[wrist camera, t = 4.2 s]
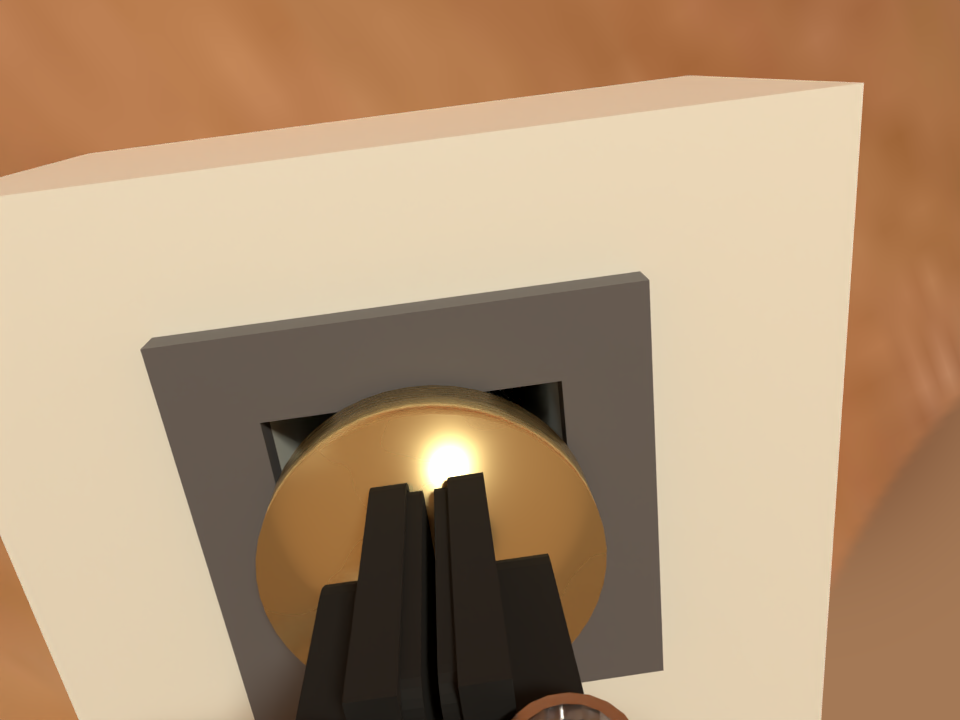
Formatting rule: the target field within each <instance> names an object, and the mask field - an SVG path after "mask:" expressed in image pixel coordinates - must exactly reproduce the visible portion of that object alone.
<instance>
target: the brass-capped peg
mask: <svg viewBox="0 0 960 720" xmlns="http://www.w3.org/2000/svg"><path fill="white" fill-rule="evenodd" d="M480 472H483V475H484V482H485V489H486V496H487V503H488V510H489V517H490V524H491V531H492V538H493V545H494V552H495V559H496V561H498V560H505V559H512V558H519V557H526V556H533V555H540V554H547V553H548V555H549V557H550V560H551V564H552V568H553V572H554V576H555V580H556V584H557V588H558V592H559V596H560V600H561V604H562V608H563V612H564V616H565V620H566V624H567V628H568V632H569V636H570V640H571V643H573V641H574V640H575V639H576V638H577V637H578V636H579V634H580V633H581V631H582V630H583V628H584V627H585V625H586V624H587V622H588V621H589V619H590V617H591V615H592V613H593V611H594V609H595V607H596V605H597V603H598V600H599V597H600V594H601V590H602V587H603V584H604V578H605V572H606V560H607V546H606V540H605V533H604V527H603V524H602V521H601V518H600V515H599V511H598V509H597V506H596V504H595V501H594V499H593V496H592V494H591V491H590V488H589V486H588V483H587V481H586V478H585V476H584V474H583V472H582V470H581V468H580V466H579V464H578V462H577V460H576V458H575V456H574V455H573V454H572V452H571V451H570V449H569V448H568V446H567V445H566V443H565V442H564V441H563V440H562V439H561V438H560V437H559V436H558V435H557V434H556V433H555V432H554V430H553V429H552V428H550V427H549V426H548V425H547V424H545V423H544V422H543V421H542V420H540V419H539V418H538V417H537V416H535V415H534V414H532V413H531V412H529V411H527V410H526V409H524V408H522V407H521V406H519V405H517V404H515V403H513V399H512V395H511V392H510V388H507V389H500V390H493V391H486V392H482V391H479V390H475V389H469V388H463V387H457V386H440V385H427V386H414V387H406V388H401V389H396V390H391V391H386V392H383V393H380V394H377V395H374V396H371V397H368V398H365V399H362V400H360V401H358V402H356V403H354V404H352V405H350V406H348V407H346V408H344V409H342V410H341V411H339V412H337V413H336V414H334V415H333V416H331V417H330V418H328V419H327V420H325V421H324V422H323V423H322V424H321V425H319V426H318V427H317V428H316V429H315V430H313V431H312V432H311V433H310V434H309V435H308V436H307V437H306V438H305V439H304V441H303V442H302V443H301V444H300V445H299V446H298V447H297V448H296V450H295V451H294V453H293V454H292V456H291V457H290V459H289V460H288V462H287V463H286V465H285V466H284V468H283V470H282V473H281V475H280V477H279V479H278V481H277V483H276V486H275V489H274V492H273V495H272V498H271V500H270V503H269V506H268V509H267V512H266V515H265V518H264V521H263V524H262V528H261V531H260V535H259V538H258V544H257V552H256V580H257V585H258V590H259V595H260V599H261V602H262V604H263V607H264V610H265V612H266V615H267V617H268V619H269V621H270V623H271V624H272V626H273V628H274V630H275V632H276V633H277V634H278V636H279V637H280V638H281V640H282V641H283V642H284V644H285V645H286V646H287V648H288V649H289V650H290V651H291V652H292V653H293V654H294V655H295V656H296V657H297V658H298V659H299V660H300V661H301V662H302V663H304V664H305V665H306V663H307V658H308V653H309V648H310V643H311V638H312V632H313V627H314V622H315V617H316V612H317V607H318V602H319V597H320V593H321V590H322V588H323V586H324V585H328V584H336V583H343V582H350V581H357V580H358V574H359V566H360V559H361V551H362V543H363V535H364V527H365V520H366V512H367V504H368V496H369V490H370V488H373V487H380V486H387V485H394V484H401V483H407V484H408V486H409V490H410V492H415V491H422V490H423V493H424V498H425V503H426V509H427V515H428V521H429V527H430V532H431V538H432V544H433V550H434V556H435V526H434V489H436V488H444V487H447V477H452V476H459V475H466V474H473V473H480Z"/></svg>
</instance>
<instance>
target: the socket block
mask: <svg viewBox="0 0 960 720" xmlns="http://www.w3.org/2000/svg"><path fill="white" fill-rule="evenodd" d="M863 88H864V83H855V82H831V81H807V80H783V79H760V78H736V77H712V76H681V77H673V78H666V79H658V80H650V81H643V82H635V83H627V84H620V85H612V86H604V87H597V88H589V89H581V90H574V91H566V92H558V93H550V94H543V95H535V96H527V97H520V98H512V99H504V100H497V101H489V102H481V103H474V104H466V105H458V106H451V107H443V108H435V109H427V110H420V111H412V112H404V113H397V114H389V115H381V116H374V117H366V118H358V119H351V120H343V121H335V122H328V123H320V124H312V125H305V126H297V127H289V128H281V129H274V130H266V131H258V132H251V133H243V134H235V135H228V136H220V137H212V138H205V139H197V140H189V141H182V142H174V143H166V144H159V145H151V146H143V147H135V148H128V149H120V150H112V151H105V152H97V153H89V154H85V155H81V156H78V157H74V158H70V159H67V160H63V161H59V162H55V163H52V164H48V165H44V166H40V167H37V168H33V169H29V170H26V171H22V172H18V173H14V174H11V175H7V176H3V177H0V536H1V538H2V540H3V543H4V545H5V547H6V550H7V552H8V554H9V557H10V559H11V561H12V564H13V566H14V568H15V571H16V573H17V576H18V578H19V580H20V583H21V585H22V587H23V590H24V592H25V594H26V597H27V599H28V601H29V604H30V606H31V608H32V611H33V613H34V615H35V618H36V620H37V622H38V625H39V627H40V630H41V632H42V634H43V637H44V639H45V641H46V644H47V646H48V648H49V651H50V653H51V655H52V658H53V660H54V662H55V665H56V667H57V669H58V672H59V674H60V676H61V679H62V681H63V683H64V686H65V688H66V691H67V693H68V695H69V698H70V700H71V702H72V705H73V707H74V709H75V712H76V714H77V716H78V719H79V720H295V719H296V714H297V709H298V704H299V699H300V694H301V689H302V684H303V679H304V673H305V668H306V665H305V664H304V663H302V662H301V661H300V660H299V659H298V658H297V657H296V656H295V655H294V654H293V653H292V652H291V651H290V650H289V649H288V648H287V646H286V645H285V644H284V642H283V641H282V640H281V638H280V637H279V636H278V634H277V633H276V632H275V630H274V628H273V626H272V624H271V623H270V621H269V619H268V617H267V615H266V612H265V610H264V607H263V604H262V602H261V599H260V595H259V590H258V585H257V580H256V552H257V544H258V538H259V535H260V531H261V528H262V524H263V521H264V518H265V515H266V512H267V509H268V506H269V503H270V500H271V498H272V495H273V492H274V489H275V486H276V483H277V481H278V479H279V477H280V475H281V473H282V470H283V468H284V466H285V465H286V463H287V462H288V460H289V459H290V457H291V456H292V454H293V453H294V451H295V450H296V448H297V447H298V446H299V445H300V444H301V443H302V442H303V441H304V439H305V438H306V437H307V436H308V435H309V434H310V433H311V432H312V431H313V430H315V429H316V428H317V427H318V426H319V425H321V424H322V423H323V422H324V421H325V420H327V419H328V418H330V417H331V416H333V415H334V414H336V413H337V412H339V411H341V410H342V409H344V408H346V407H348V406H350V405H352V404H354V403H356V402H358V401H360V400H362V399H365V398H368V397H371V396H374V395H377V394H380V393H383V392H386V391H391V390H396V389H401V388H406V387H414V386H427V385H440V386H457V387H463V388H469V389H475V390H479V391H482V392H486V391H493V390H500V389H507V388H515V387H521V395H522V404H523V408H524V409H526V410H527V411H529V412H531V413H532V414H534V415H535V416H537V417H538V418H539V419H540V420H542V421H543V422H544V423H545V424H547V425H548V426H549V427H550V428H552V429H553V430H554V432H555V433H556V434H557V435H558V436H559V437H560V438H561V439H562V440H563V441H564V442H565V443H566V445H567V446H568V448H569V449H570V451H571V452H572V454H573V455H574V456H575V458H576V460H577V462H578V464H579V466H580V468H581V470H582V472H583V474H584V476H585V478H586V481H587V483H588V486H589V488H590V491H591V494H592V496H593V499H594V501H595V504H596V506H597V509H598V511H599V515H600V518H601V521H602V524H603V527H604V533H605V540H606V546H607V560H606V572H605V578H604V584H603V587H602V590H601V594H600V597H599V600H598V603H597V605H596V607H595V609H594V611H593V613H592V615H591V617H590V619H589V621H588V622H587V624H586V625H585V627H584V628H583V630H582V631H581V633H580V634H579V636H578V637H577V638H576V639H575V640H574V641H573V643H572V647H573V651H574V655H575V659H576V663H577V667H578V671H579V675H580V679H581V683H582V687H583V691H584V694H588V695H591V696H594V697H597V698H599V699H602V700H604V701H607V702H609V703H610V704H612V705H613V706H614V707H616V708H617V709H618V710H620V711H621V712H623V713H624V714H625V715H626V717H627V718H628V720H821V711H822V697H823V682H824V668H825V652H826V638H827V623H828V608H829V593H830V579H831V564H832V549H833V534H834V519H835V504H836V489H837V474H838V460H839V445H840V430H841V415H842V400H843V385H844V370H845V356H846V341H847V326H848V311H849V296H850V281H851V266H852V251H853V237H854V222H855V207H856V192H857V177H858V162H859V147H860V133H861V118H862V103H863Z"/></svg>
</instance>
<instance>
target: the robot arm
mask: <svg viewBox="0 0 960 720" xmlns="http://www.w3.org/2000/svg"><path fill="white" fill-rule="evenodd" d="M434 526H435V556H434V550H433V544H432V538H431V532H430V527H429V521H428V515H427V509H426V503H425V498H424V493H423V490H422V491H415V492H410V490H409V486H408V484H407V483H401V484H394V485H387V486H380V487H373V488H370V490H369V496H368V504H367V512H366V520H365V527H364V535H363V543H362V551H361V559H360V566H359V574H358V580H357V581H350V582H343V583H336V584H328V585H324V586H323V588H322V590H321V593H320V597H319V602H318V607H317V612H316V617H315V622H314V627H313V632H312V638H311V643H310V648H309V653H308V658H307V663H306V668H305V673H304V679H303V684H302V689H301V694H300V699H299V704H298V709H297V714H296V719H295V720H628V718H627V717H626V715H625V714H624V713H623V712H621V711H620V710H618V709H617V708H616V707H614V706H613V705H612V704H610V703H609V702H607V701H604V700H602V699H599V698H597V697H594V696H591V695H588V694H584V691H583V687H582V683H581V679H580V675H579V671H578V667H577V663H576V659H575V655H574V651H573V647H572V643H571V640H570V636H569V632H568V628H567V624H566V620H565V616H564V612H563V608H562V604H561V600H560V596H559V592H558V588H557V584H556V580H555V576H554V572H553V568H552V564H551V560H550V557H549V555H548V553H547V554H540V555H533V556H526V557H519V558H512V559H505V560H498V561H496V559H495V552H494V545H493V538H492V531H491V524H490V517H489V510H488V503H487V496H486V489H485V482H484V475H483V472H480V473H473V474H466V475H459V476H452V477H447V487H444V488H436V489H434Z"/></svg>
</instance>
